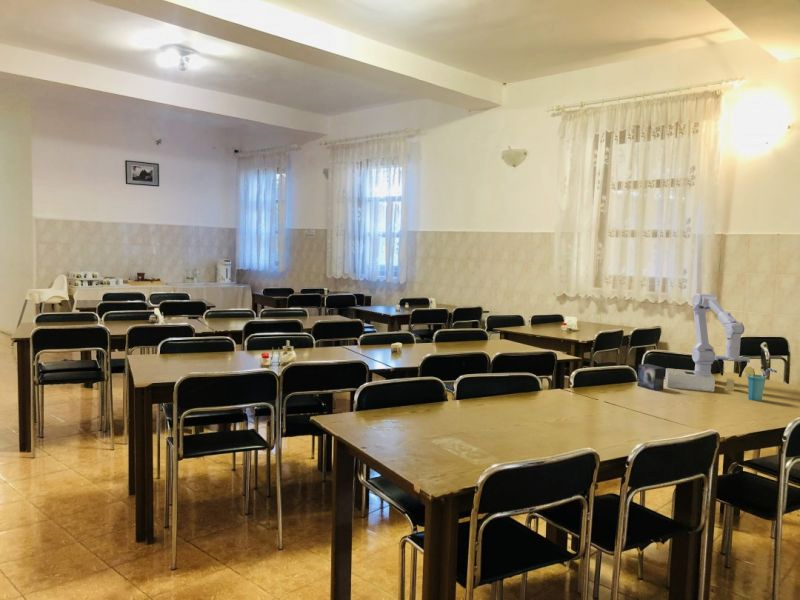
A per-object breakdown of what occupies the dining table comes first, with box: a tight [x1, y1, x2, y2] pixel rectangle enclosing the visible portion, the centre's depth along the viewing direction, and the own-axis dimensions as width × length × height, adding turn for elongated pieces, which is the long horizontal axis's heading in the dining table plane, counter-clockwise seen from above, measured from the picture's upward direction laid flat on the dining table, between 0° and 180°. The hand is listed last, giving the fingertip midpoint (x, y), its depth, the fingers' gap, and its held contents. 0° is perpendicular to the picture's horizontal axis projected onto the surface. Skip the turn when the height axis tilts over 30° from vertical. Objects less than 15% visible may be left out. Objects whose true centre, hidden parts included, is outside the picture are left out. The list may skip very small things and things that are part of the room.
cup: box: [744, 366, 778, 402], centre depth 273 cm, size 14×8×15 cm, turn 34°
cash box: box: [664, 367, 716, 393], centre depth 298 cm, size 16×20×6 cm
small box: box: [636, 363, 666, 391], centre depth 292 cm, size 11×6×10 cm, turn 25°
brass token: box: [725, 377, 735, 392], centre depth 294 cm, size 5×2×5 cm, turn 161°
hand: (730, 376), depth 294 cm, fingers open, 7 cm apart
